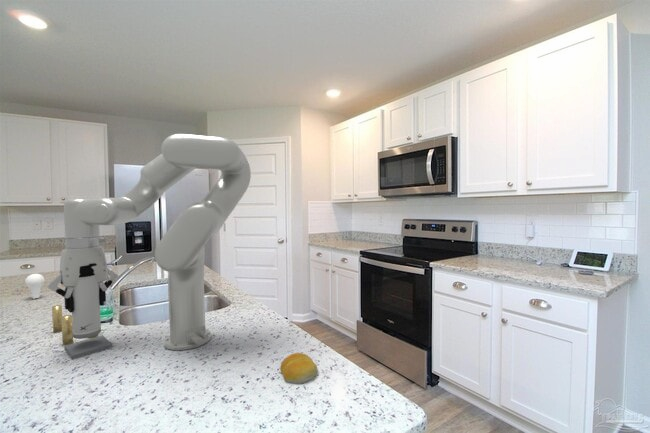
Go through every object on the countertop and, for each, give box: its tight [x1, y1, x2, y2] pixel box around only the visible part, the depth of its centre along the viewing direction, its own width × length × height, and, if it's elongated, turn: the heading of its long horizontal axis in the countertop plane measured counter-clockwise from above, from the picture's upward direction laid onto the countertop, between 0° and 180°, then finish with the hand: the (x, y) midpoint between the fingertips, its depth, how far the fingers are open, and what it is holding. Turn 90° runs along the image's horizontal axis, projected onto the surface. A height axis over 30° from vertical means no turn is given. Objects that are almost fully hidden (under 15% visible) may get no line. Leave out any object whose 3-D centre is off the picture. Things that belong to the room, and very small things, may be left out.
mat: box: [63, 334, 113, 360], centre depth 88 cm, size 9×9×1 cm
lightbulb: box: [24, 273, 45, 300], centre depth 136 cm, size 6×6×11 cm
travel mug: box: [71, 263, 102, 340], centre depth 87 cm, size 6×7×20 cm
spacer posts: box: [51, 304, 99, 346], centre depth 98 cm, size 16×8×8 cm, turn 49°
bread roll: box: [279, 352, 318, 384], centre depth 73 cm, size 8×9×4 cm
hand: (86, 307), depth 87 cm, fingers closed on travel mug, 6 cm apart
